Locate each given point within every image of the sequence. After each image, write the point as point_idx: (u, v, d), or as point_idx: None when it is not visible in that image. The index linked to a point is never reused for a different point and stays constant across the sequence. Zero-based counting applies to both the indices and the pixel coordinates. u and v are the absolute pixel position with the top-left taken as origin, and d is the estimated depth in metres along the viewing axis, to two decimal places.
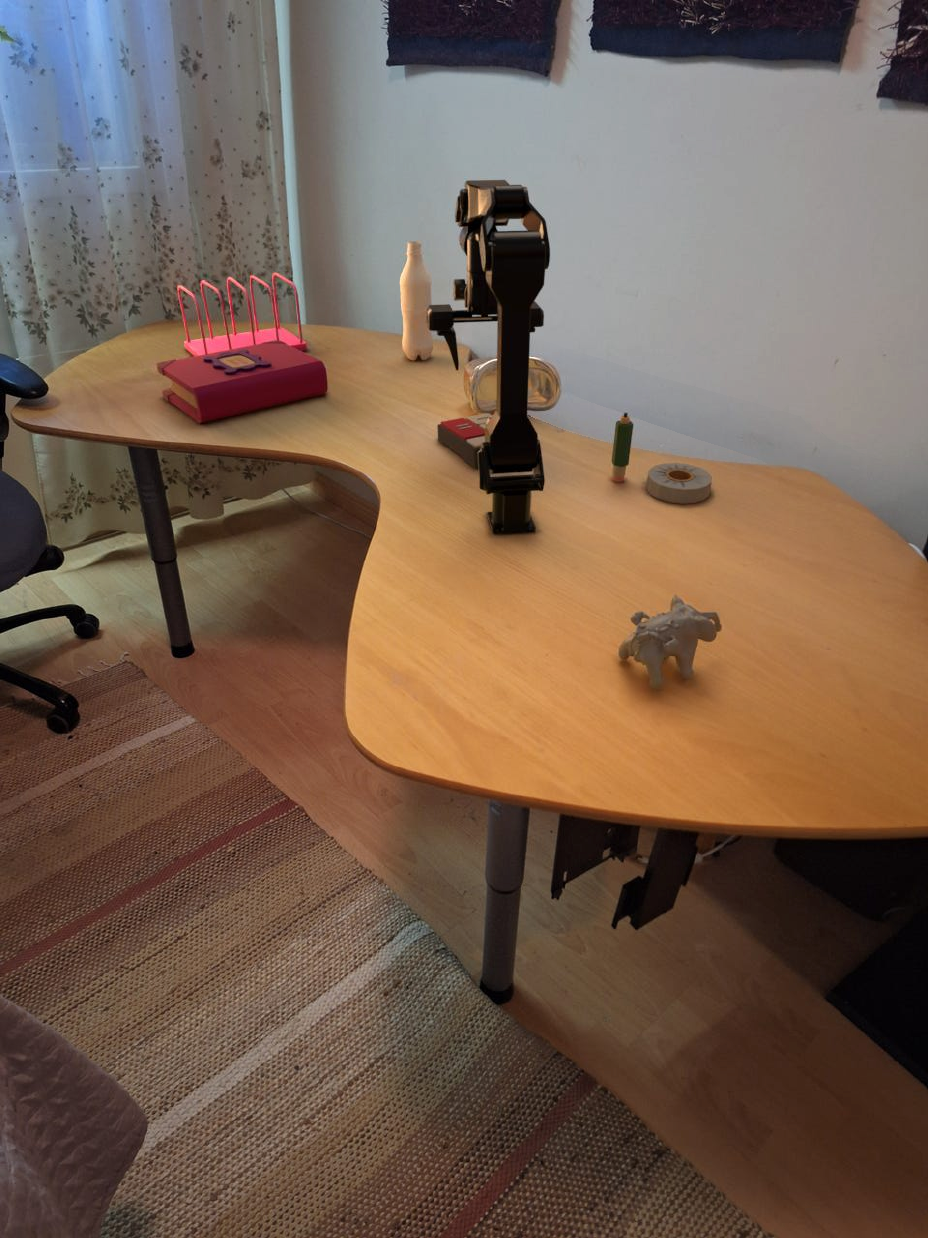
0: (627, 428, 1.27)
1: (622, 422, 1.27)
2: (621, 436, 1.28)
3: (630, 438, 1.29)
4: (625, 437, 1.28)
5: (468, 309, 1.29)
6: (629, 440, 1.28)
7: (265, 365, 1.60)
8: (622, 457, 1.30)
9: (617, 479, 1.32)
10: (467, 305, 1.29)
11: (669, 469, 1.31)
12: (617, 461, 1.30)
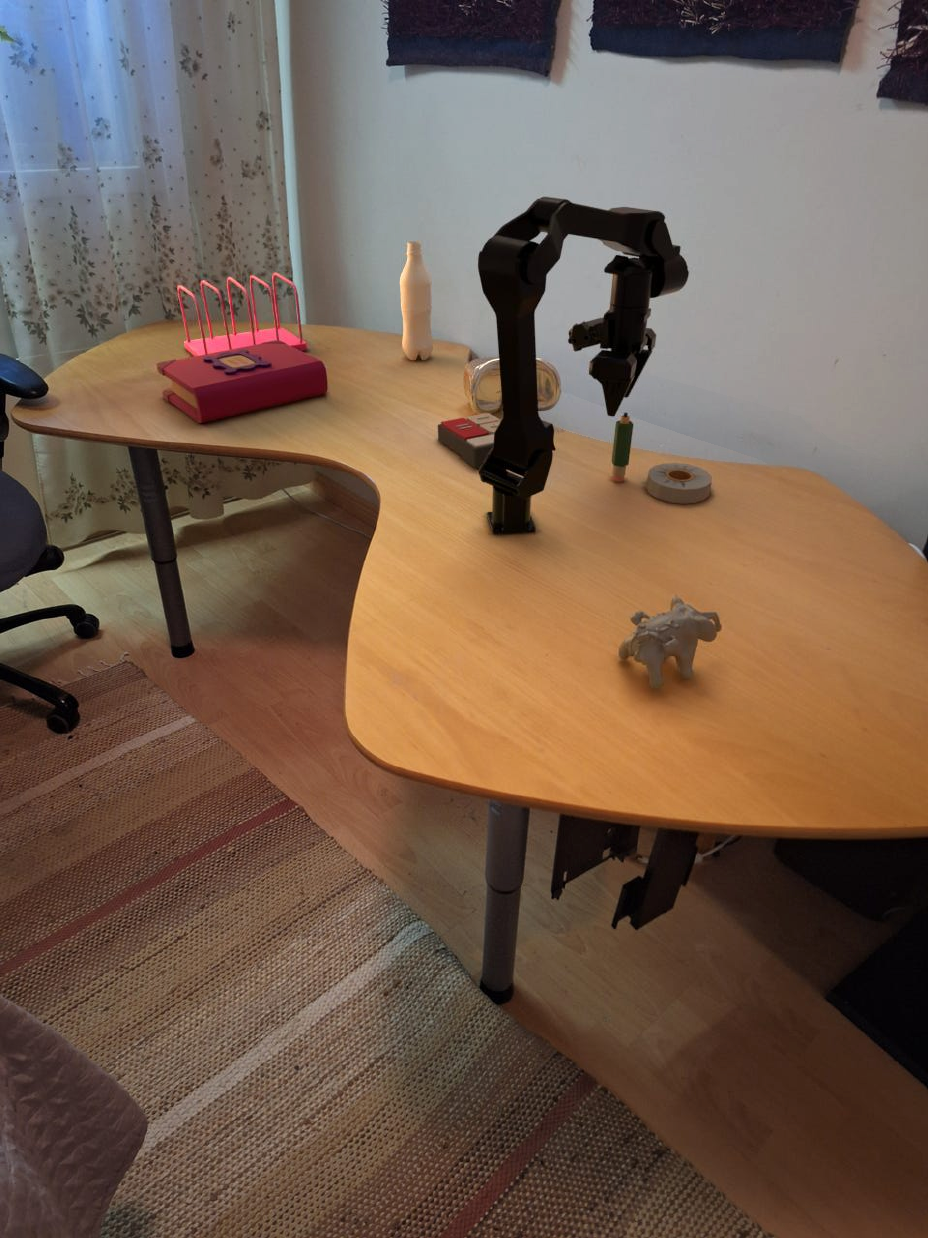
0: (627, 428, 1.27)
1: (622, 422, 1.27)
2: (621, 436, 1.28)
3: (630, 438, 1.29)
4: (625, 437, 1.28)
5: (625, 348, 1.19)
6: (629, 440, 1.28)
7: (265, 365, 1.60)
8: (622, 457, 1.30)
9: (617, 479, 1.32)
10: (622, 344, 1.19)
11: (669, 469, 1.31)
12: (617, 461, 1.30)
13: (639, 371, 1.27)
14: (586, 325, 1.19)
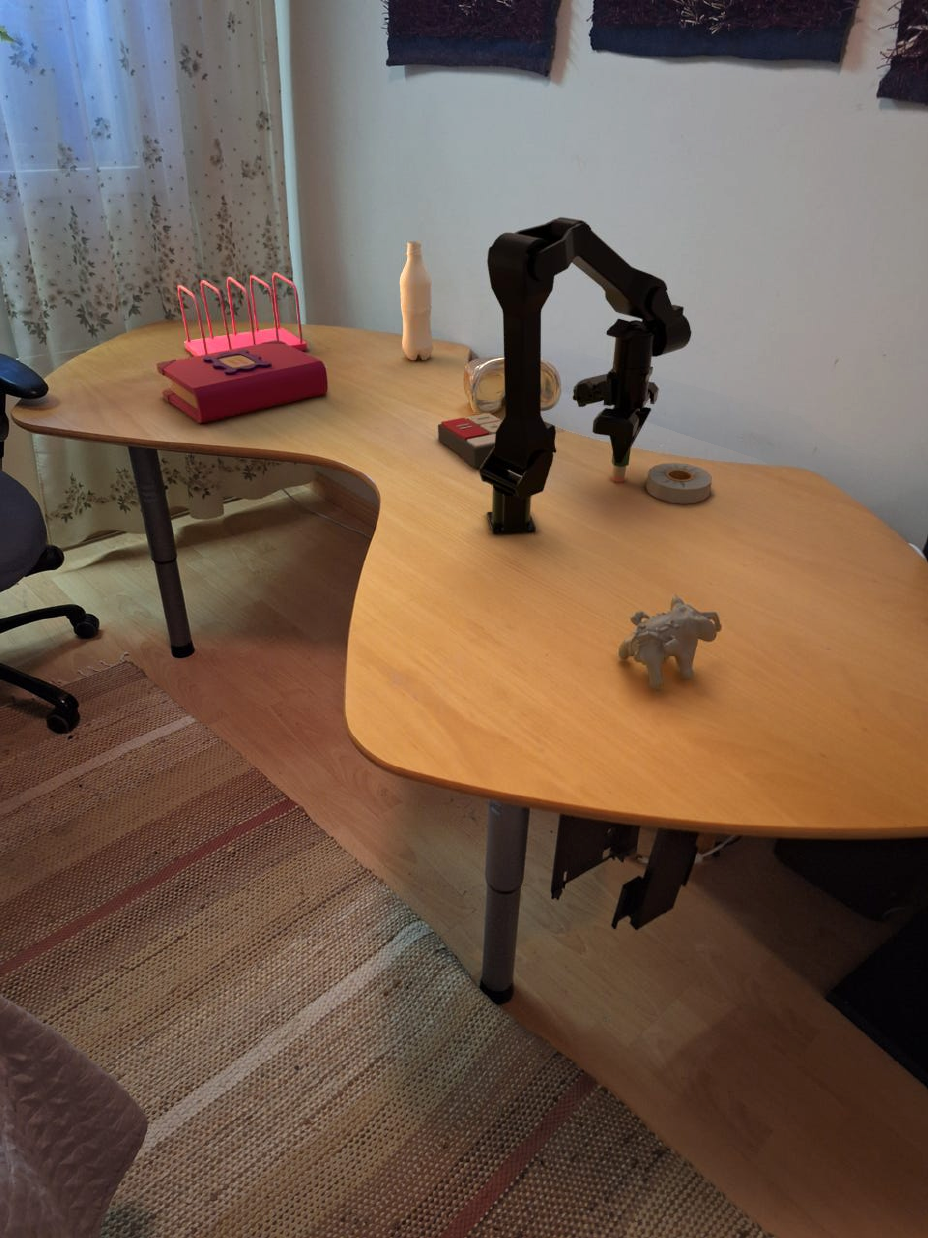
0: None
1: None
2: None
3: None
4: None
5: (628, 405, 1.23)
6: None
7: (265, 365, 1.60)
8: None
9: (617, 479, 1.32)
10: (625, 402, 1.23)
11: (669, 469, 1.31)
12: None
13: (638, 429, 1.30)
14: (590, 383, 1.23)
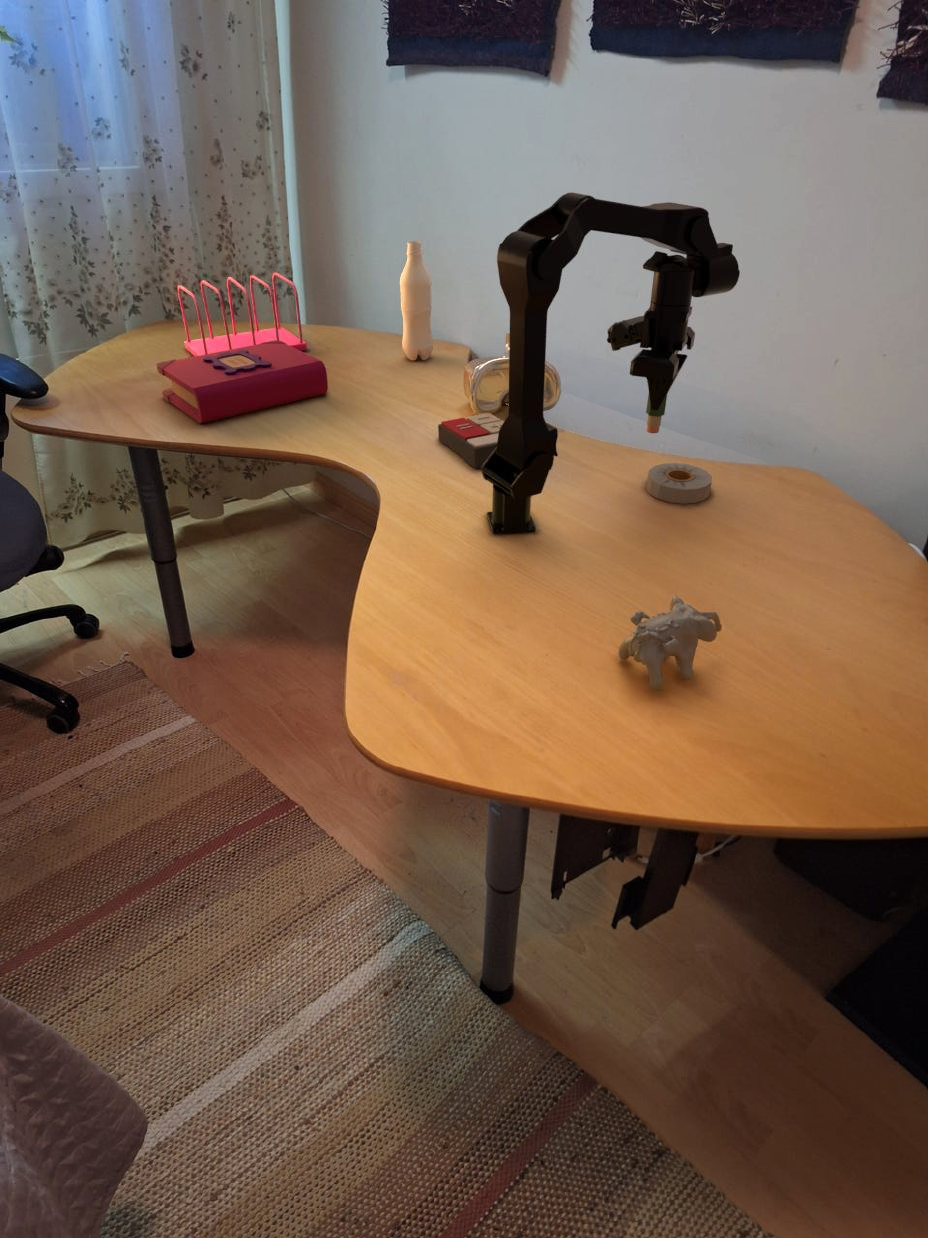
0: None
1: None
2: None
3: None
4: None
5: (666, 347, 1.16)
6: None
7: (266, 365, 1.60)
8: None
9: (652, 430, 1.26)
10: (663, 343, 1.16)
11: (669, 469, 1.31)
12: (653, 411, 1.24)
13: (674, 377, 1.23)
14: (626, 324, 1.17)
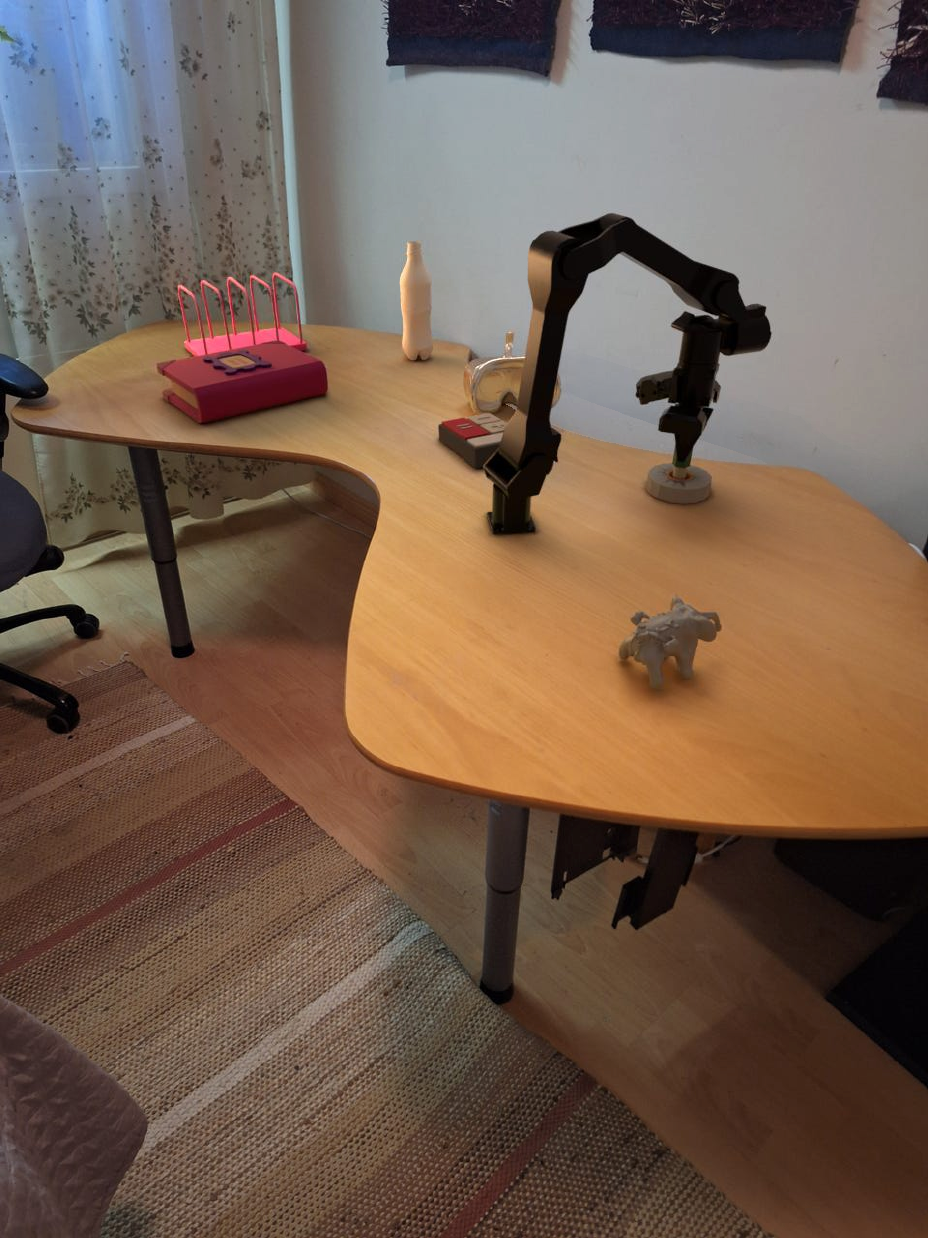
0: None
1: None
2: None
3: None
4: None
5: (693, 403, 1.19)
6: None
7: (266, 365, 1.60)
8: None
9: None
10: (691, 400, 1.19)
11: (669, 469, 1.31)
12: (679, 463, 1.26)
13: None
14: (655, 380, 1.19)
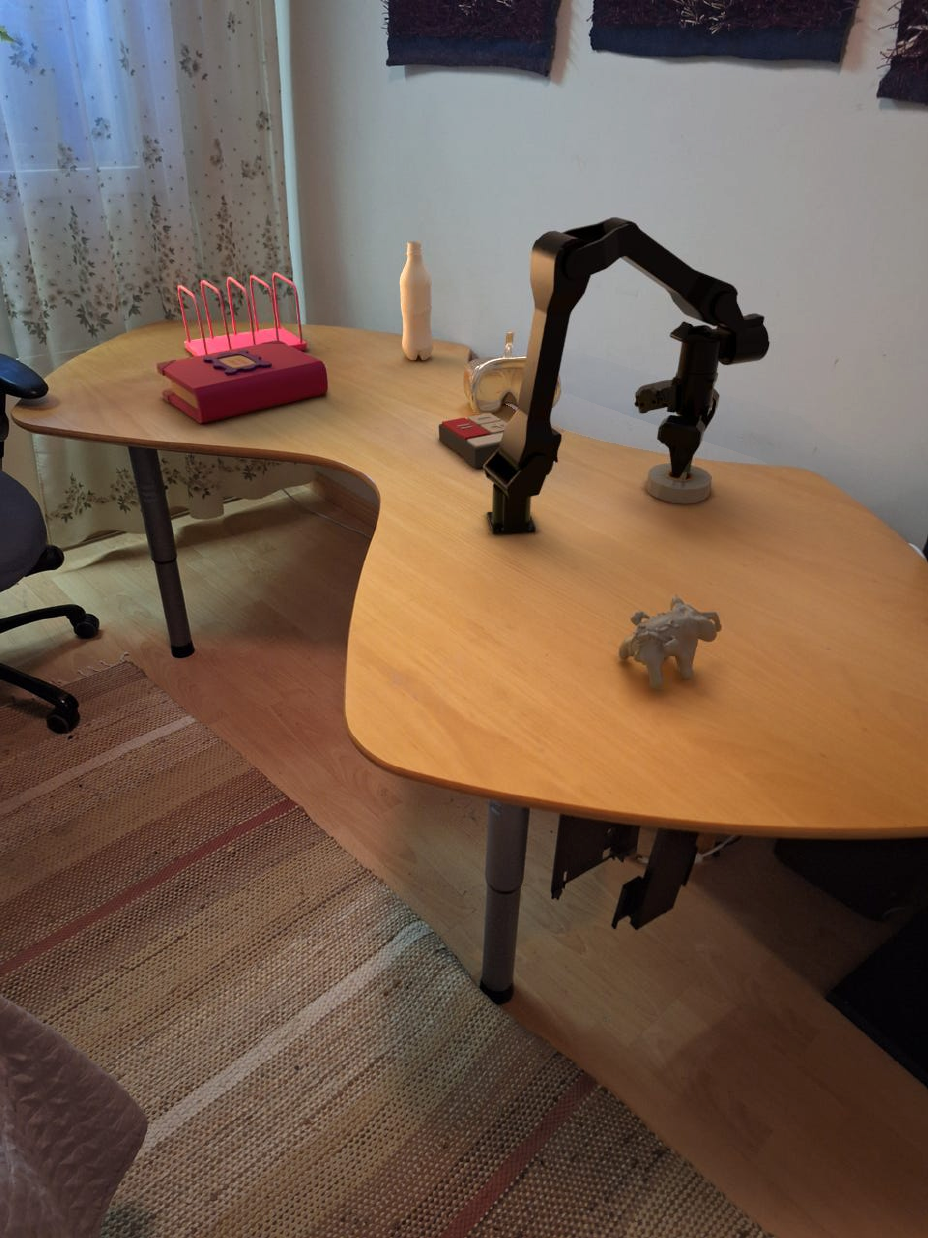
0: None
1: None
2: None
3: None
4: None
5: (692, 412, 1.20)
6: None
7: (266, 365, 1.60)
8: None
9: None
10: (690, 409, 1.20)
11: (669, 469, 1.31)
12: None
13: None
14: (654, 389, 1.20)
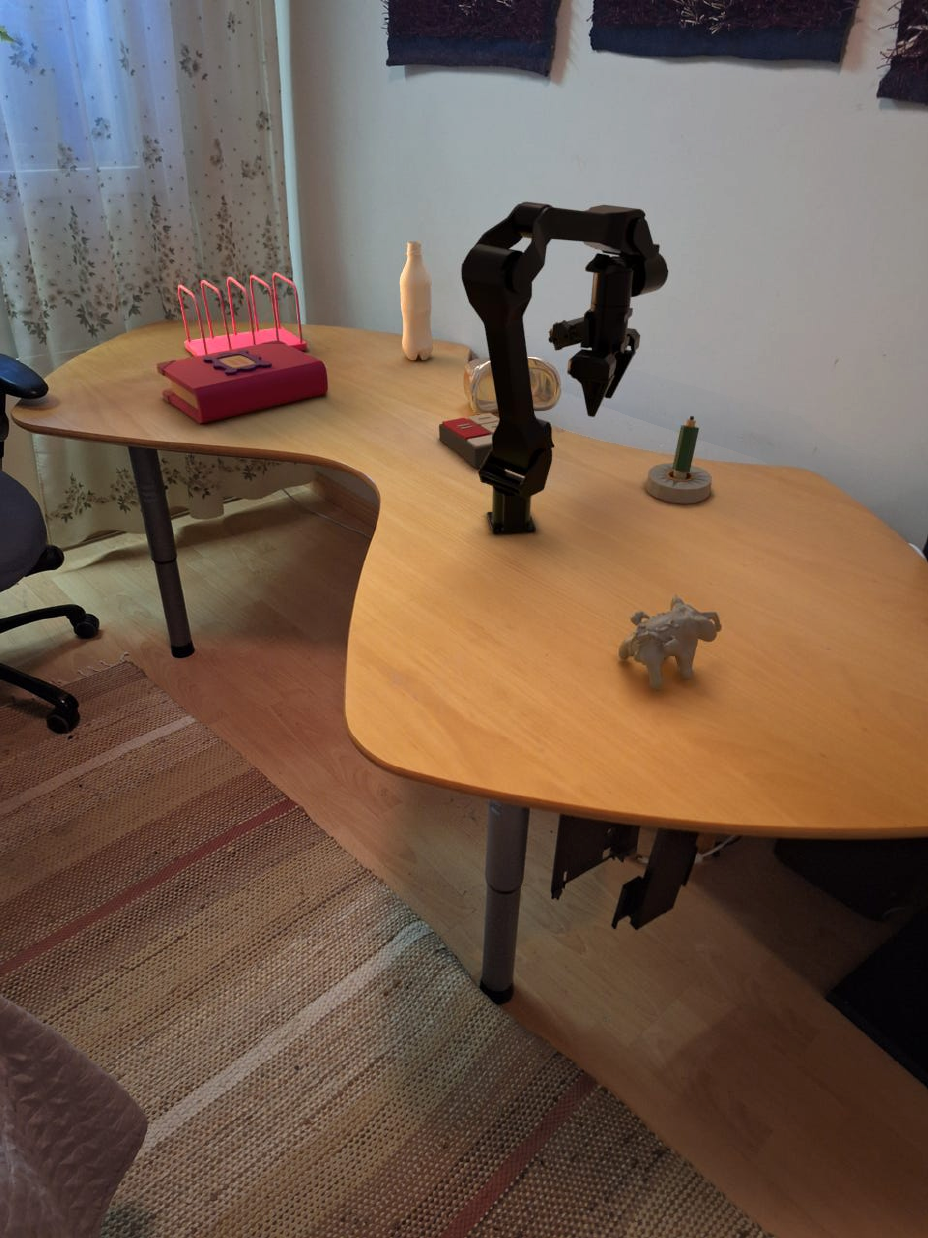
0: (693, 430, 1.26)
1: (688, 425, 1.26)
2: (686, 438, 1.26)
3: (694, 443, 1.27)
4: (690, 439, 1.26)
5: (605, 348, 1.18)
6: (693, 444, 1.27)
7: (266, 365, 1.60)
8: (685, 461, 1.27)
9: None
10: (602, 344, 1.17)
11: (669, 469, 1.31)
12: (680, 466, 1.28)
13: (622, 372, 1.26)
14: (566, 324, 1.18)
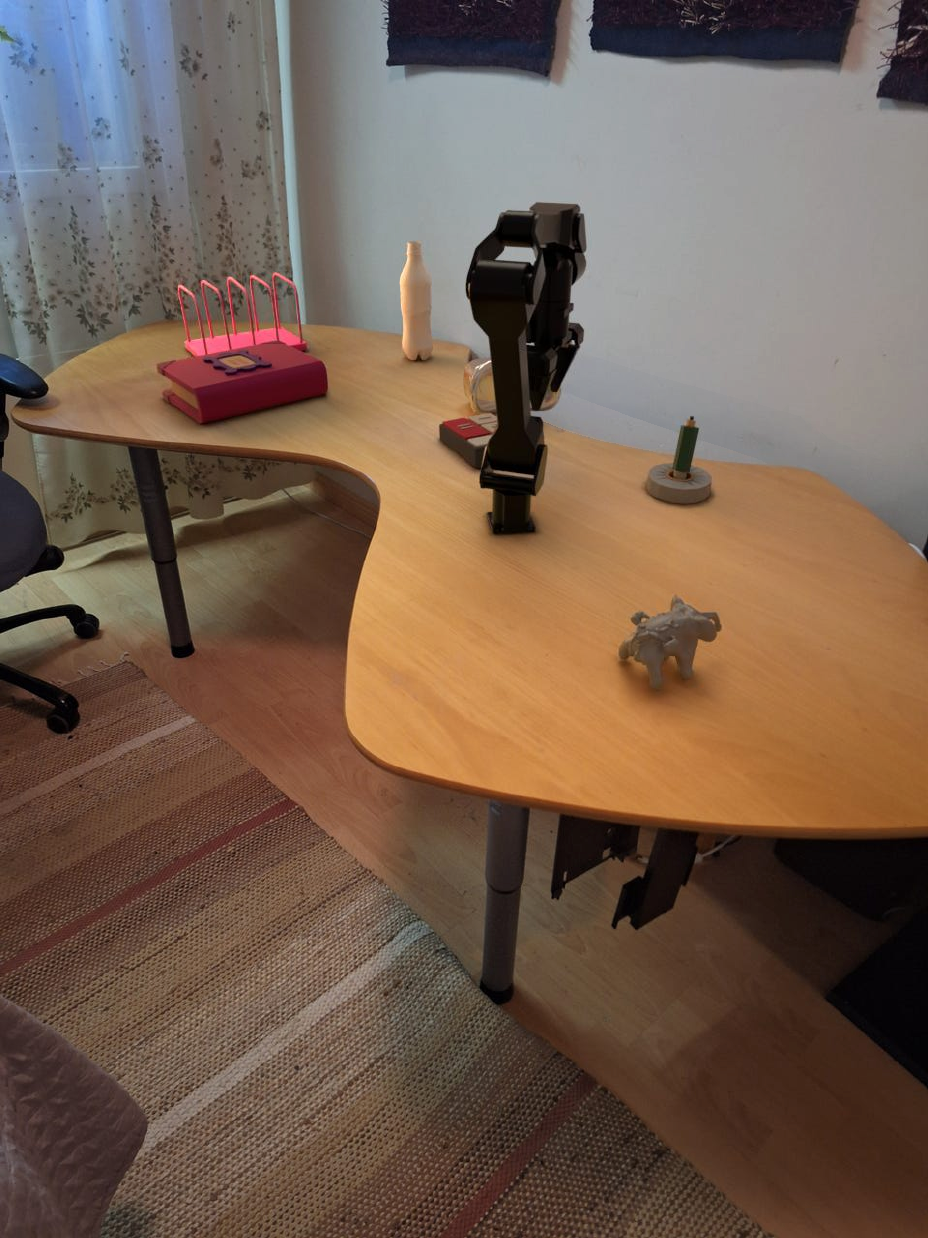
0: (693, 430, 1.26)
1: (688, 425, 1.26)
2: (686, 438, 1.26)
3: (694, 443, 1.27)
4: (690, 439, 1.26)
5: (547, 342, 1.19)
6: (693, 444, 1.27)
7: (266, 365, 1.60)
8: (685, 461, 1.27)
9: None
10: (544, 339, 1.19)
11: (669, 469, 1.31)
12: (680, 466, 1.28)
13: (567, 366, 1.28)
14: None
